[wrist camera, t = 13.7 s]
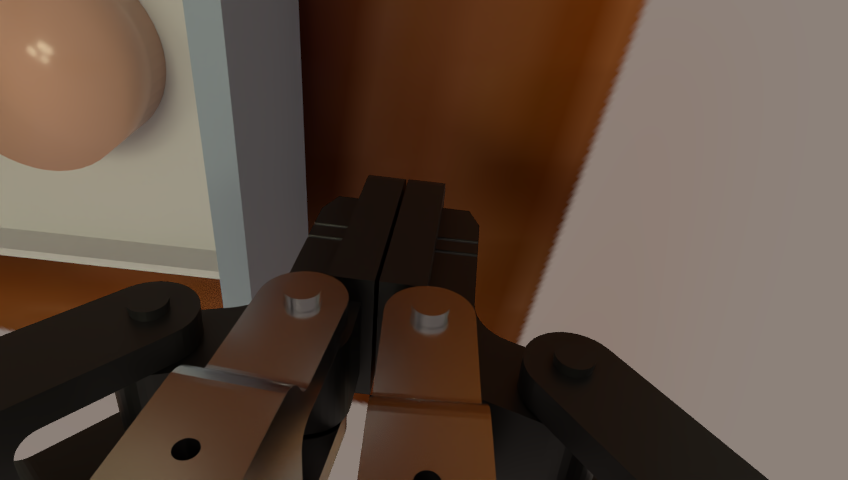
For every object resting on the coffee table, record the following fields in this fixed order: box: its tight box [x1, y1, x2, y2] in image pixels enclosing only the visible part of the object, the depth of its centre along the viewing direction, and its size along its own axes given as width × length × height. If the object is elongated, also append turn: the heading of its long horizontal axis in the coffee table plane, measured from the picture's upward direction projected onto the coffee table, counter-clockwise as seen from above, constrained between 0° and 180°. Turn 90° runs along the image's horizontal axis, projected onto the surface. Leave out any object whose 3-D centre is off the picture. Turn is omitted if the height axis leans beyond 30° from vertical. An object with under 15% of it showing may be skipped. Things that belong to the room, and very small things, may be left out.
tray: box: [0, 0, 308, 308], centre depth 17 cm, size 14×14×6 cm
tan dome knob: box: [0, 0, 166, 171], centre depth 18 cm, size 6×6×2 cm
